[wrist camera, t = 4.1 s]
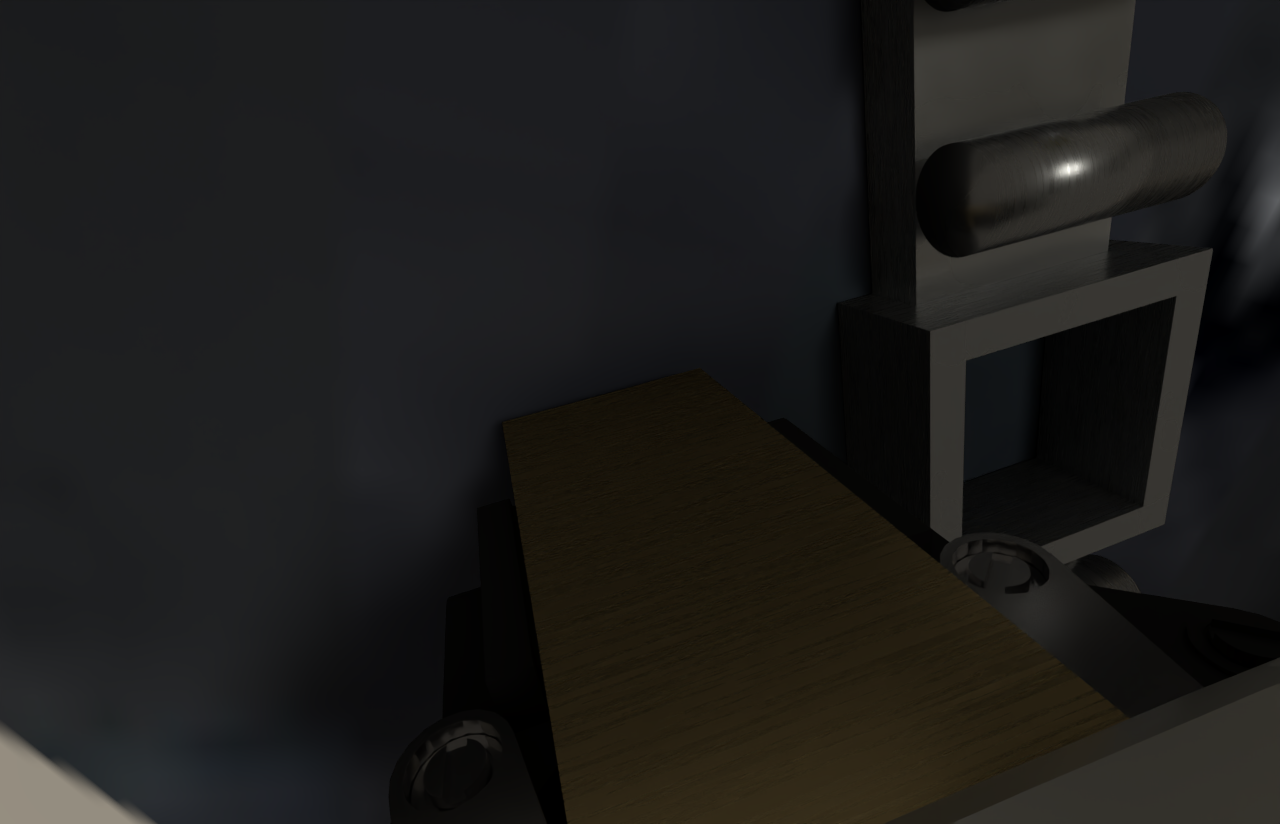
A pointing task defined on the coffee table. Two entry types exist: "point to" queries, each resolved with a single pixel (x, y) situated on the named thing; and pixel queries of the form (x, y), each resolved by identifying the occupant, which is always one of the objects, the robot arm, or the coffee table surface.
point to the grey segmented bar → (1023, 268)
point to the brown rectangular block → (756, 628)
